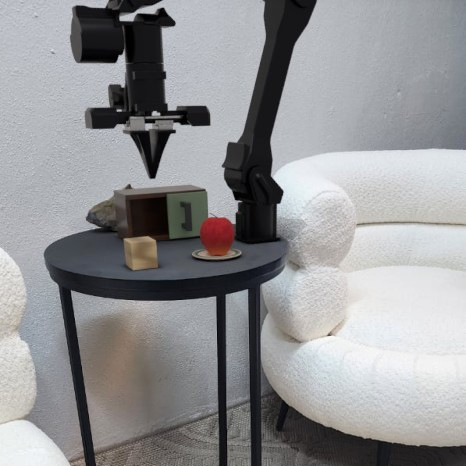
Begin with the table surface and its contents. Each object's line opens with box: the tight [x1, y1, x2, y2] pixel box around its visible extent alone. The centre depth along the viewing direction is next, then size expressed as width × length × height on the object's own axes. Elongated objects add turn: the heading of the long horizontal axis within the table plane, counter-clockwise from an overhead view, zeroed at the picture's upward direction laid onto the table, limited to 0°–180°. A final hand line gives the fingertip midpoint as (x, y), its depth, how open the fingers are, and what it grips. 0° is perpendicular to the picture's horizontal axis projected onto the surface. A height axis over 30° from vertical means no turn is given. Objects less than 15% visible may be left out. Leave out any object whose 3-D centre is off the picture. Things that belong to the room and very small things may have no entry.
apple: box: [191, 212, 242, 261], centre depth 110 cm, size 8×8×6 cm
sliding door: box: [166, 190, 209, 240], centre depth 122 cm, size 8×4×7 cm, turn 113°
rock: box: [85, 183, 135, 232], centre depth 133 cm, size 11×6×10 cm
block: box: [123, 236, 159, 271], centre depth 105 cm, size 4×4×4 cm
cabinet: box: [112, 184, 207, 242], centre depth 126 cm, size 15×8×8 cm, turn 113°
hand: (152, 178), depth 110 cm, fingers closed
